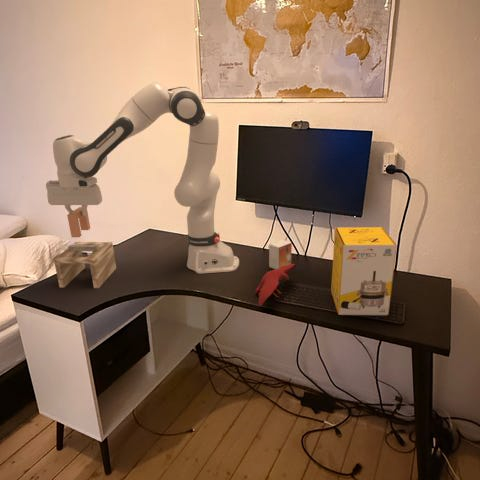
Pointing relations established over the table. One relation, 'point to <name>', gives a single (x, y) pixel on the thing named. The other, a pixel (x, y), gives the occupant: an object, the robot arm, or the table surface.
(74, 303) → the table surface
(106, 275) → the wooden stand
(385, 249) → the packaging box
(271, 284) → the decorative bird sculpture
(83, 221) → the arch block
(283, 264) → the small box
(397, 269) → the table surface
